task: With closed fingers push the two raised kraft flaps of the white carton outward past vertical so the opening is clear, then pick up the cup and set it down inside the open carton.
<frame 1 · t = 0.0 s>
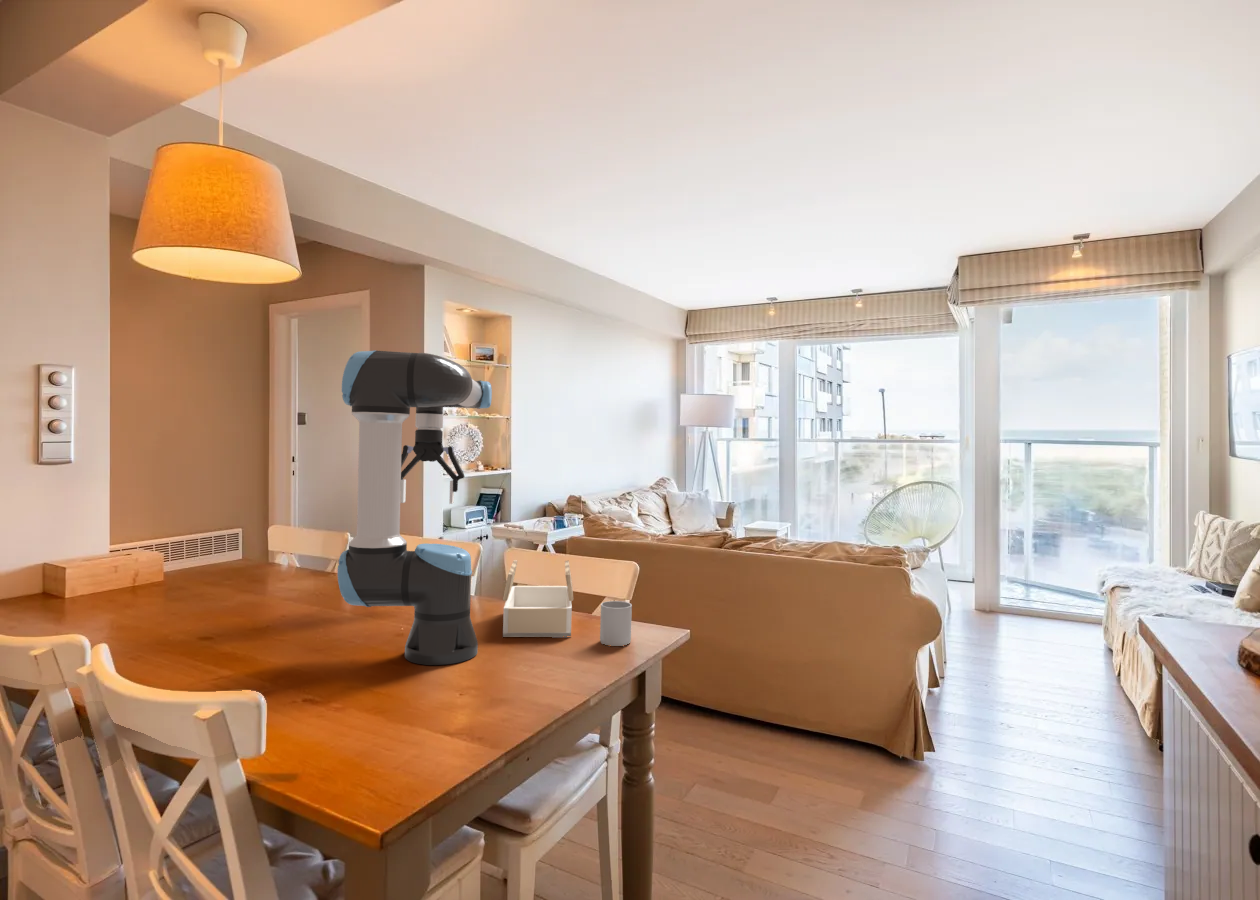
hand: (427, 503, 190), 28 cm above the table, fingers open, 13 cm apart
carton: (538, 623, 168), on the table
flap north: (510, 579, 168), point 11 cm above the table, hinge at 80.0°
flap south: (568, 579, 169), point 11 cm above the table, hinge at 80.0°
cup: (617, 641, 156), on the table
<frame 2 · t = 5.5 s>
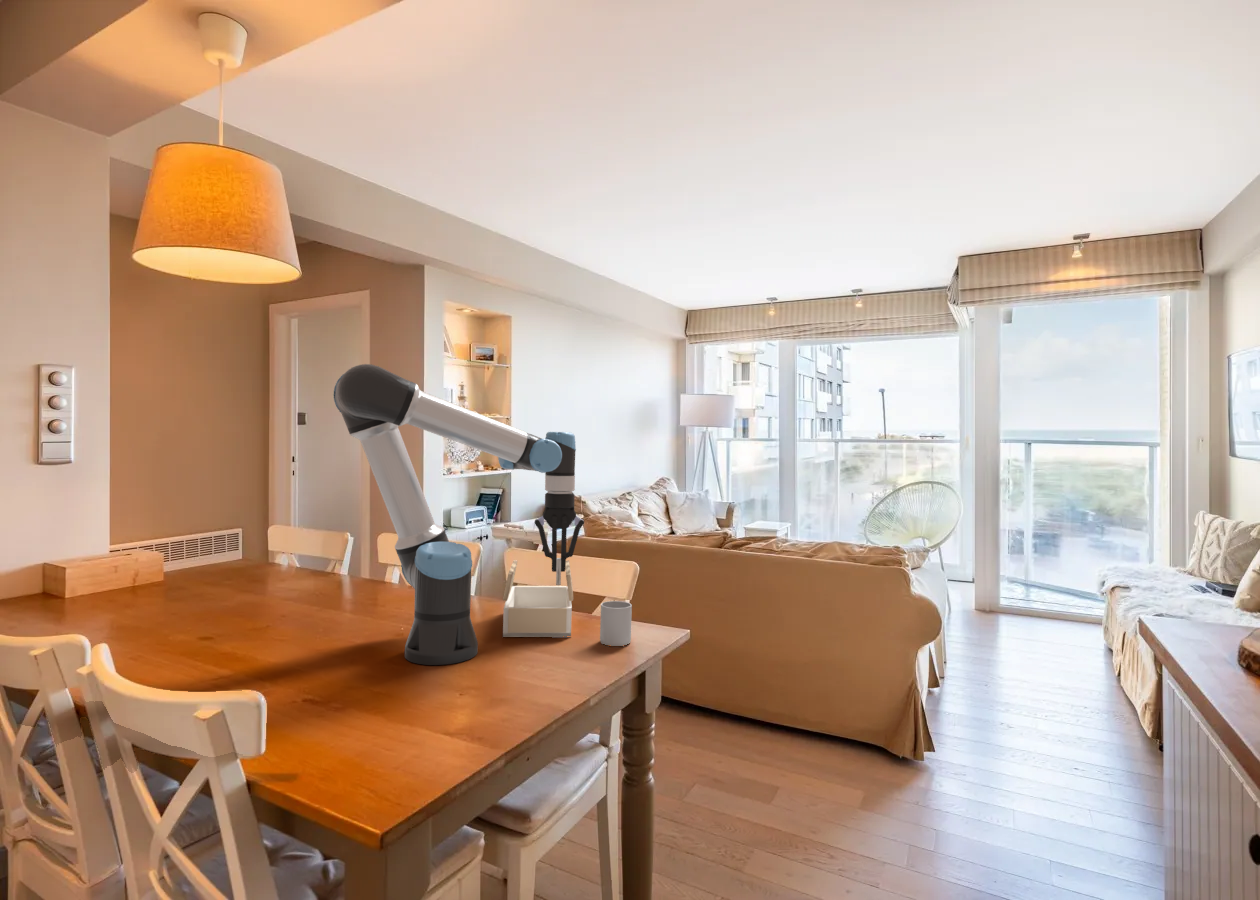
hand: (558, 584, 169), 10 cm above the table, fingers closed
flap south: (569, 579, 169), point 11 cm above the table, hinge at 81.0°, touching gripper
everything else where it was.
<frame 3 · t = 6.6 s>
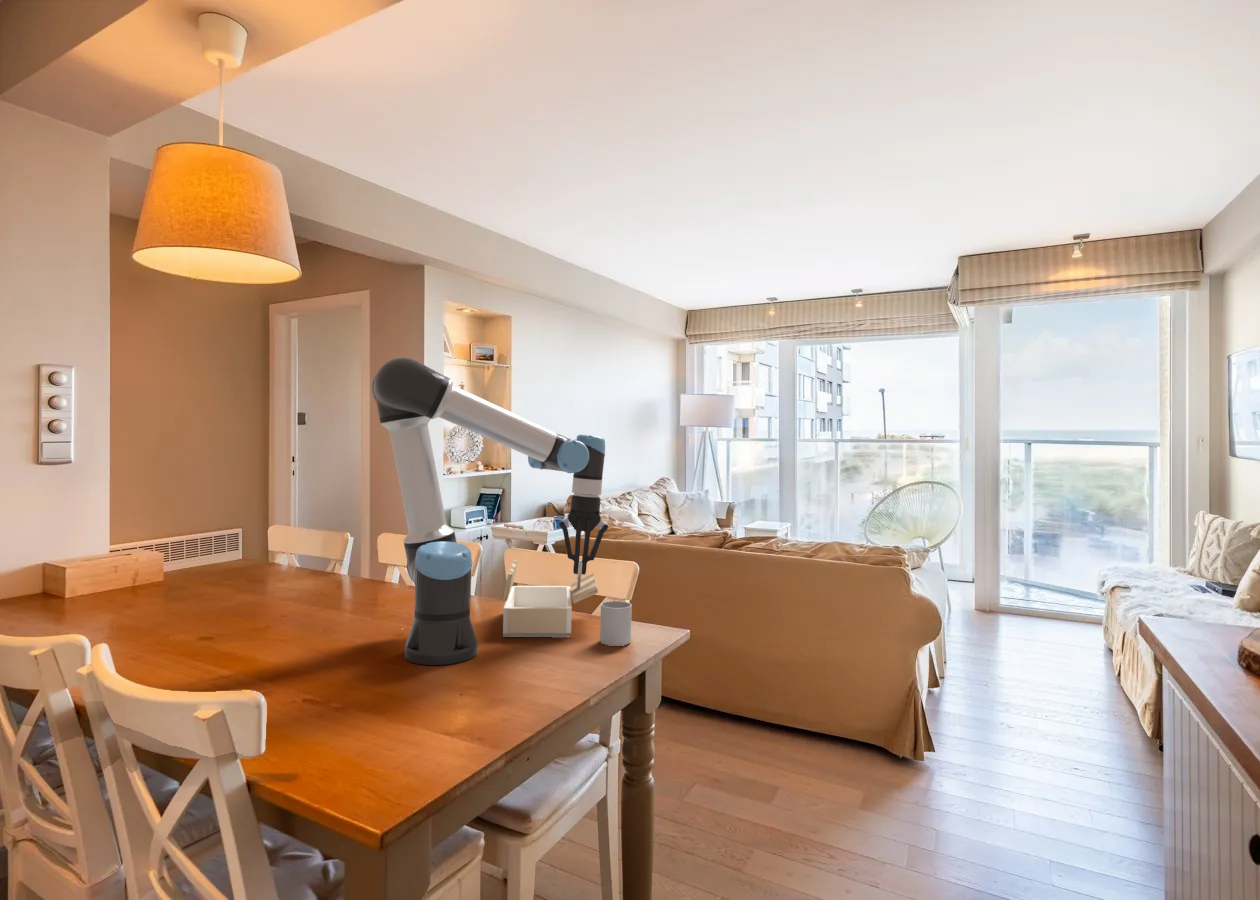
hand: (578, 586, 170), 9 cm above the table, fingers closed
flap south: (584, 587, 170), point 9 cm above the table, hinge at 155.6°, touching gripper
everything else where it was.
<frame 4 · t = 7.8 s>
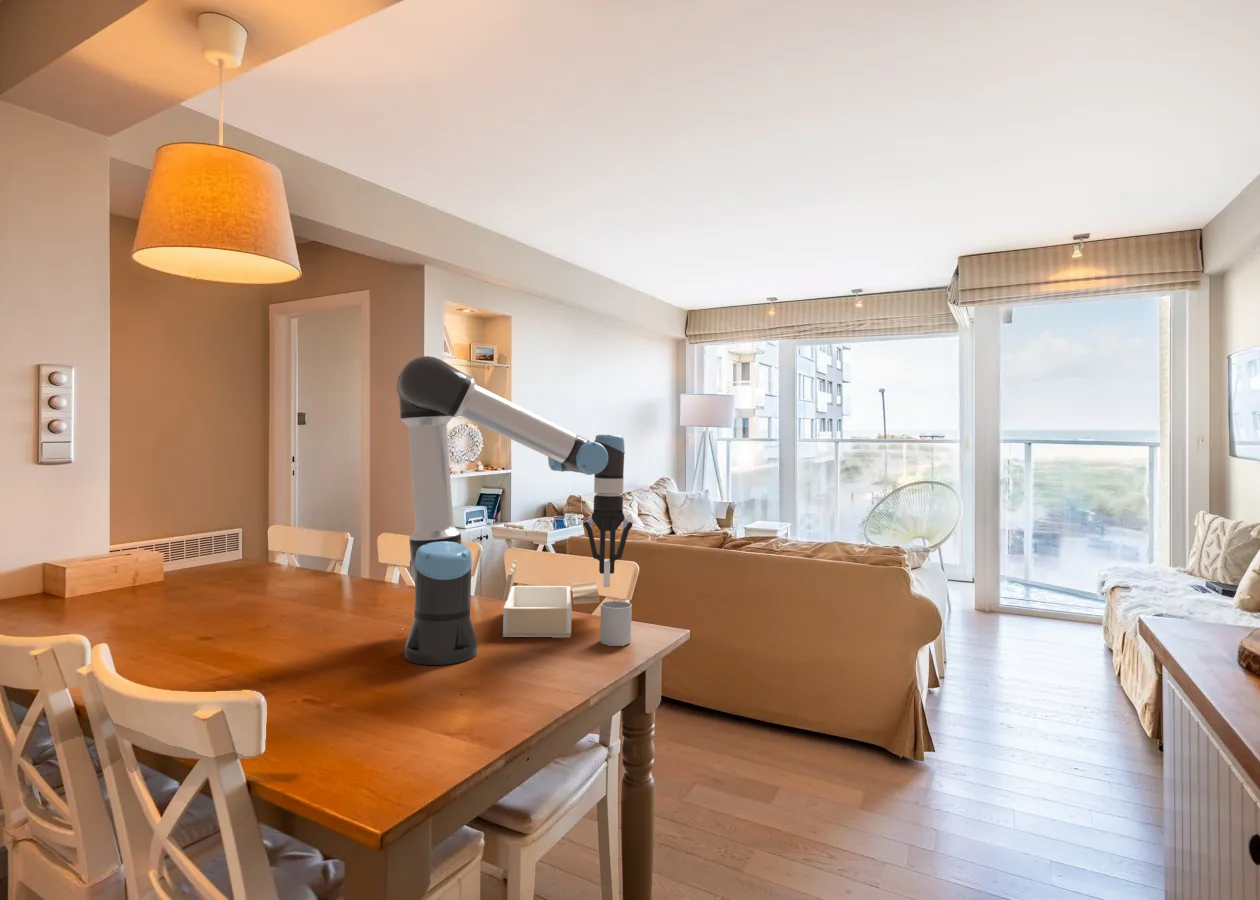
hand: (606, 585, 170), 10 cm above the table, fingers closed
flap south: (585, 592, 170), point 8 cm above the table, hinge at 176.2°
everything else where it was.
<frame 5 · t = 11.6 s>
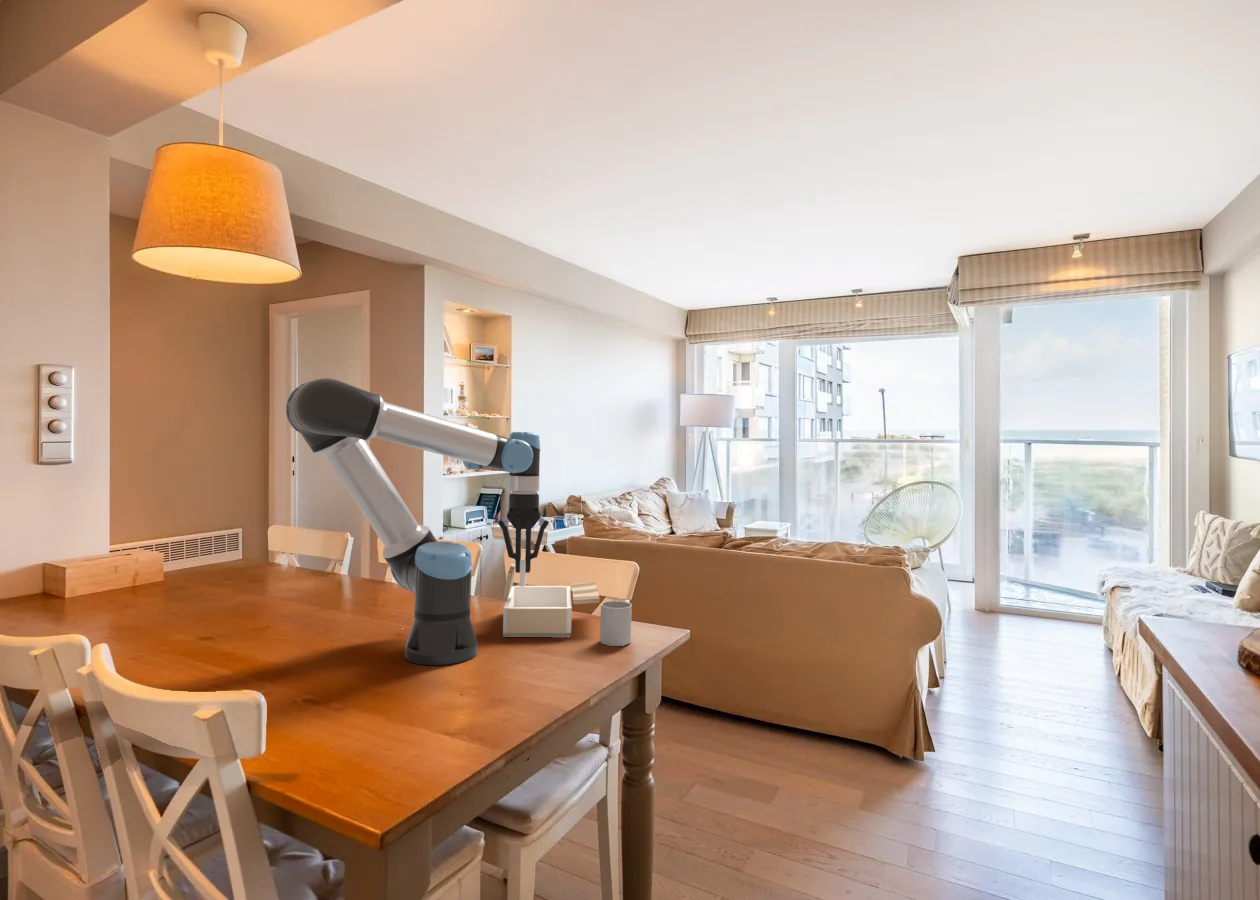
hand: (522, 585, 168), 10 cm above the table, fingers closed
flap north: (510, 579, 168), point 11 cm above the table, hinge at 81.4°, touching gripper
everything else where it was.
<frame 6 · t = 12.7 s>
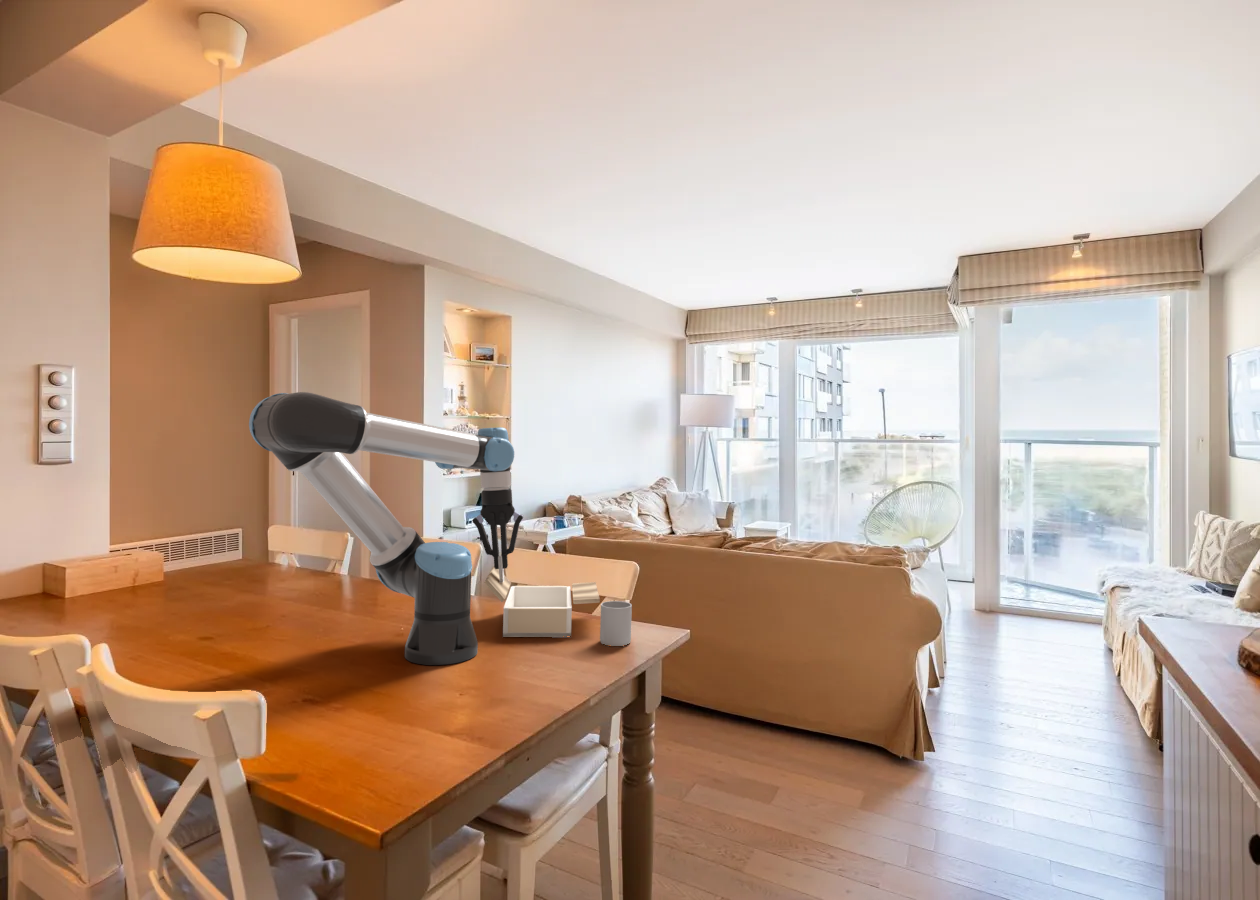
hand: (501, 581, 167), 11 cm above the table, fingers closed
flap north: (498, 582, 167), point 10 cm above the table, hinge at 132.0°, touching gripper
everything else where it was.
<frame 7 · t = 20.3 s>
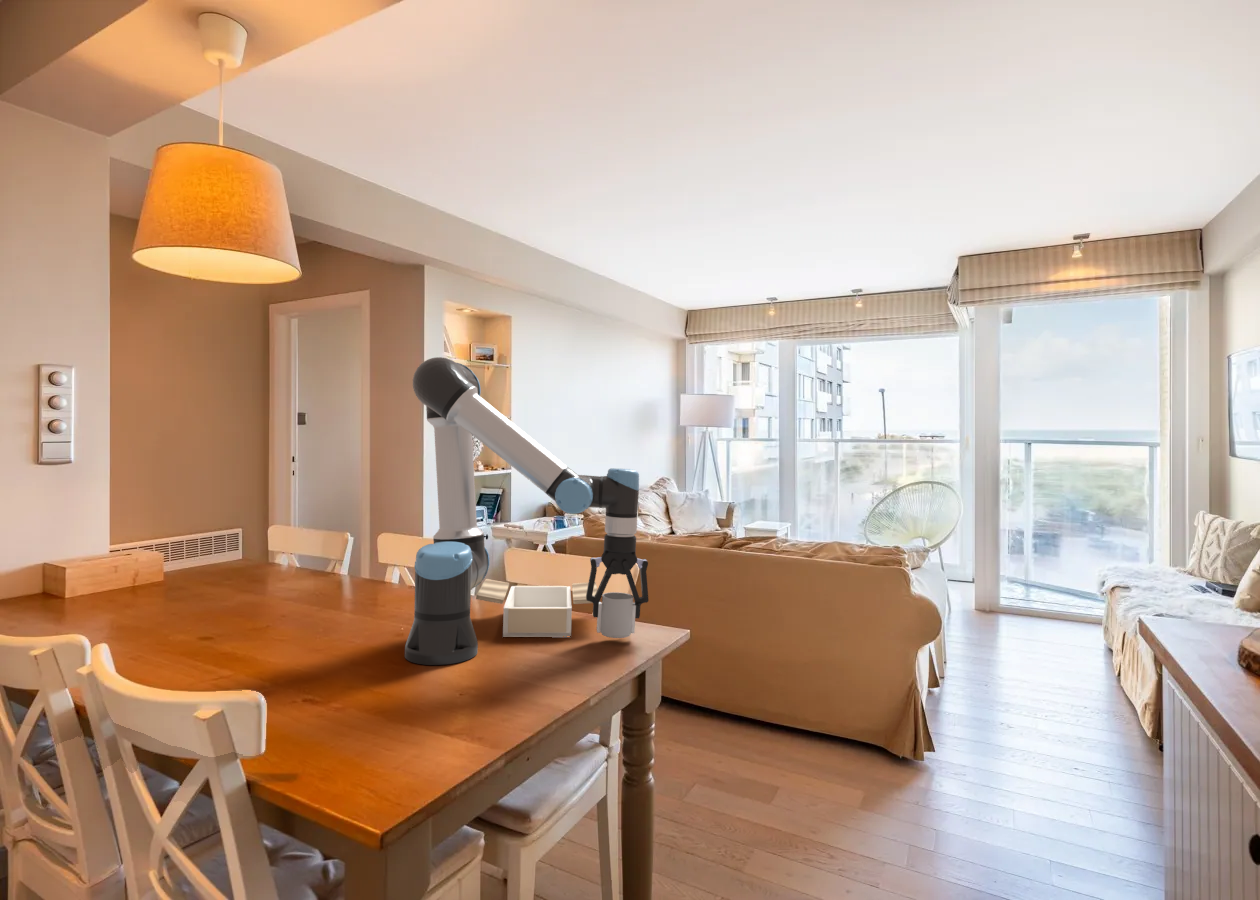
hand: (615, 631, 156), 2 cm above the table, fingers closed on cup, 7 cm apart
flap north: (493, 590, 167), point 8 cm above the table, hinge at 169.6°
cup: (618, 633, 156), point 2 cm above the table, touching gripper
everything else where it was.
when the fingers open (3 cm above the table, at t = 25.5 s): cup drops 2 cm, resting on carton.
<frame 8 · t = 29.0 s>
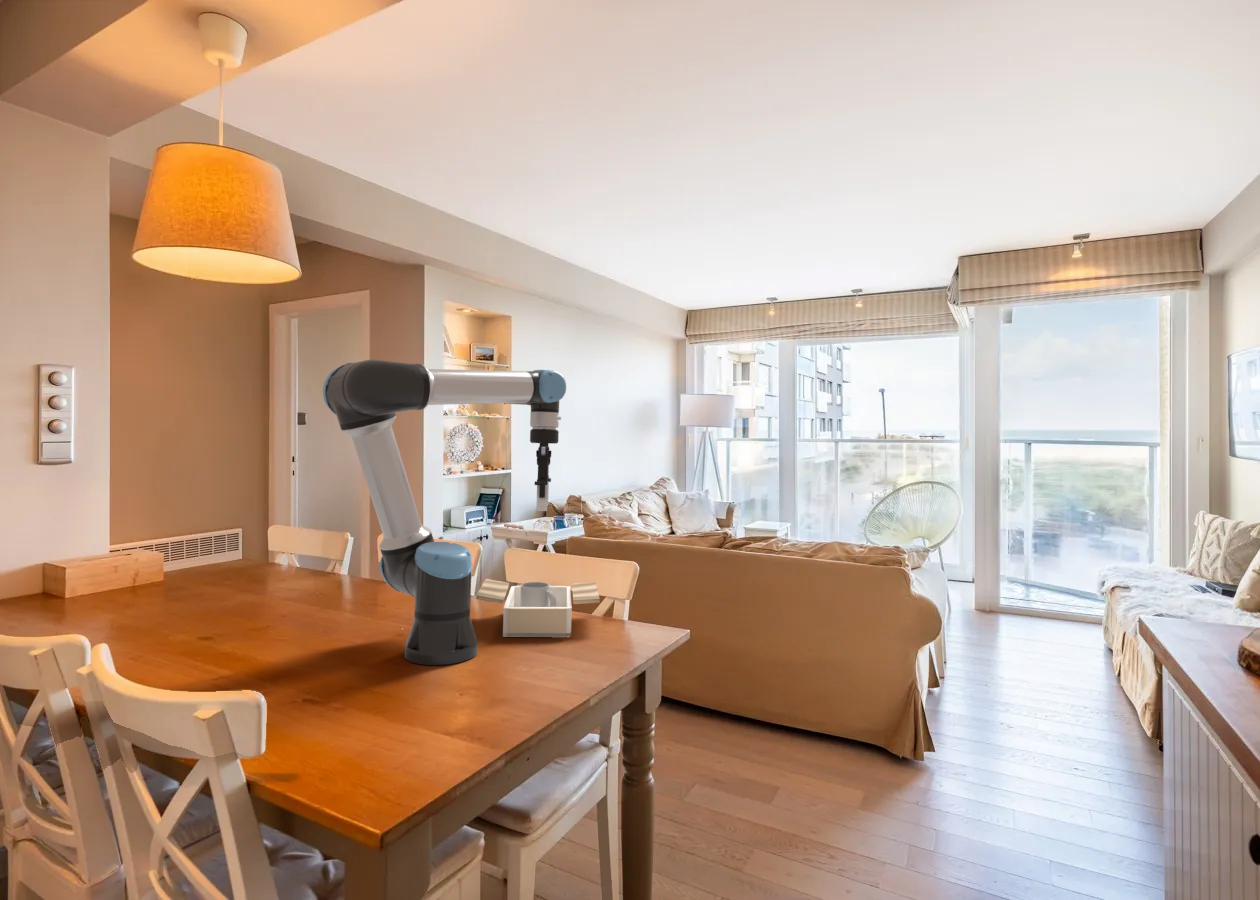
hand: (542, 508, 176), 29 cm above the table, fingers open, 13 cm apart
cup: (538, 621, 168), point 1 cm above the table, touching carton
everything else where it was.
at the end: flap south at +176° (first picture: +80°); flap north at +170° (first picture: +80°); cup inside the target area on the carton (0.7 cm from its centre), point 0.8 cm above the carton's base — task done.
